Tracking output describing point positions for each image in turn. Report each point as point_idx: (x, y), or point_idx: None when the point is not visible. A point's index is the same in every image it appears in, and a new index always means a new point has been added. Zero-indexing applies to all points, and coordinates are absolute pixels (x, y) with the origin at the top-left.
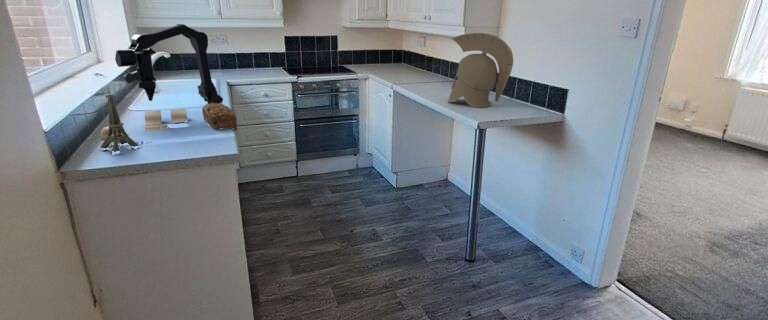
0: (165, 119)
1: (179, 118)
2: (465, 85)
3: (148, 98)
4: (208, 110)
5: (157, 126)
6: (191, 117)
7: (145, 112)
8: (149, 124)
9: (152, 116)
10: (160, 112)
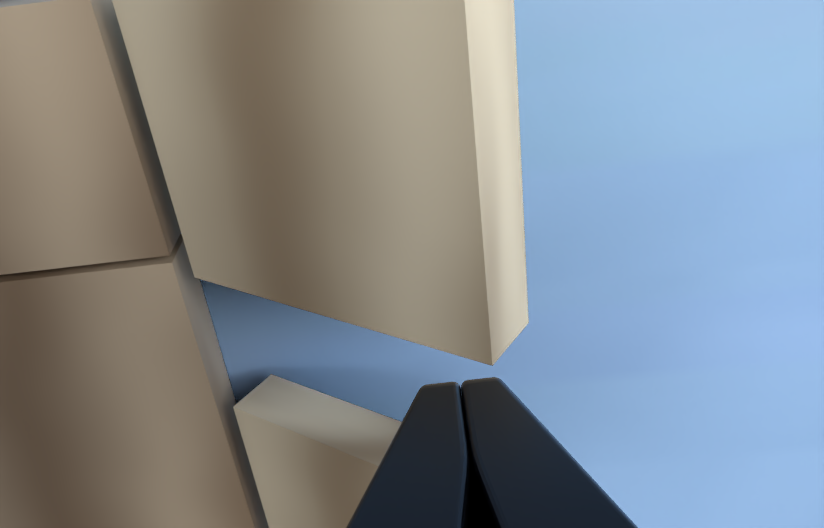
0: (788, 221)
1: (324, 525)
2: None
3: (393, 447)
4: None
5: (34, 223)
6: (741, 524)
7: (439, 33)
8: (145, 75)
9: (325, 171)
10: (436, 346)
